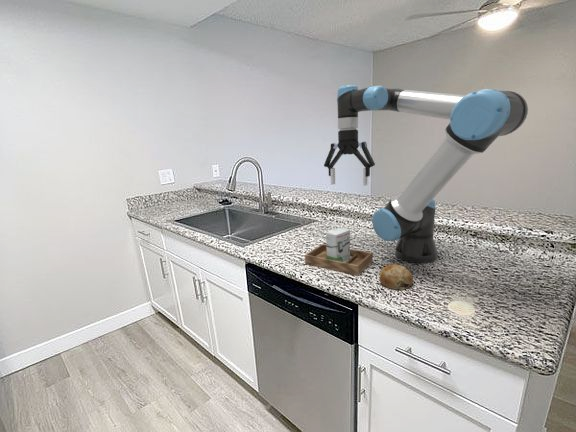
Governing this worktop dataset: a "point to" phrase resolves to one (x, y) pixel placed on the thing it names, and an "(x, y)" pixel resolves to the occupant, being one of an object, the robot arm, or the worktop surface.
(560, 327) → the worktop surface
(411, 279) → the bread roll
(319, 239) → the worktop surface
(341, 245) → the ink box
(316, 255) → the tray
